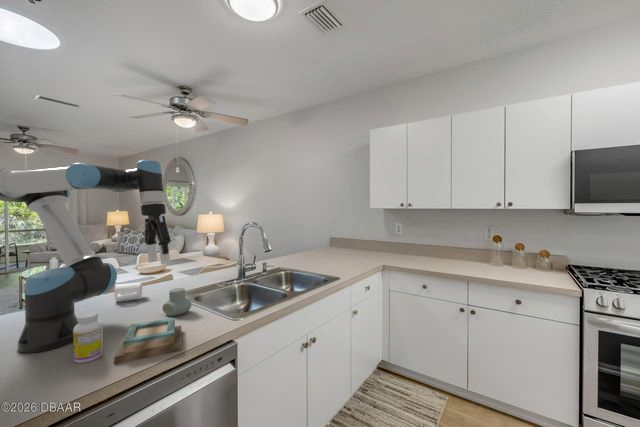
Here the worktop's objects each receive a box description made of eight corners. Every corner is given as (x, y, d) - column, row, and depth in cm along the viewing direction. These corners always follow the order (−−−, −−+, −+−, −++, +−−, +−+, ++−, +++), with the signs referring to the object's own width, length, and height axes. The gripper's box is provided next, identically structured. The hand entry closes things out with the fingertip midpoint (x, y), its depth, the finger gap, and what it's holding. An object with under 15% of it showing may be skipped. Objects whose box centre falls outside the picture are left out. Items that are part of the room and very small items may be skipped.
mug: (118, 299, 134) (118, 283, 134) (142, 296, 138) (142, 280, 138) (112, 307, 123) (112, 289, 123) (138, 303, 128) (138, 286, 128)
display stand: (114, 363, 78) (114, 344, 78) (124, 341, 92) (123, 324, 92) (181, 350, 86) (181, 332, 86) (181, 331, 99) (181, 315, 99)
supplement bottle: (80, 354, 84) (79, 312, 83) (106, 350, 86) (105, 309, 86) (69, 365, 77) (68, 320, 77) (97, 361, 80) (97, 317, 79)
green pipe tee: (194, 312, 117) (194, 289, 117) (176, 319, 110) (176, 294, 110) (177, 308, 122) (177, 285, 122) (159, 314, 115) (159, 290, 115)
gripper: (177, 200, 94) (183, 262, 94) (153, 206, 111) (159, 259, 111) (152, 200, 88) (159, 266, 88) (131, 207, 105) (137, 263, 105)
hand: (159, 262), depth 99 cm, fingers open, 13 cm apart
